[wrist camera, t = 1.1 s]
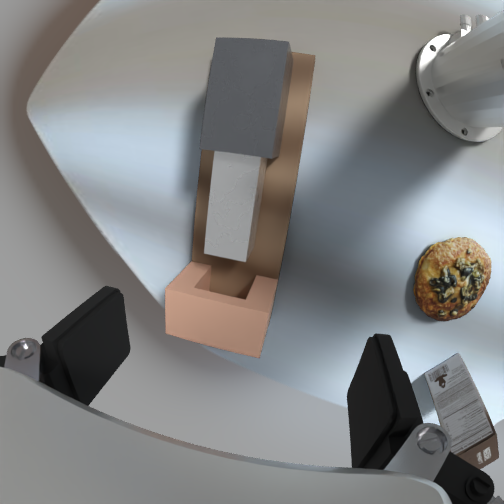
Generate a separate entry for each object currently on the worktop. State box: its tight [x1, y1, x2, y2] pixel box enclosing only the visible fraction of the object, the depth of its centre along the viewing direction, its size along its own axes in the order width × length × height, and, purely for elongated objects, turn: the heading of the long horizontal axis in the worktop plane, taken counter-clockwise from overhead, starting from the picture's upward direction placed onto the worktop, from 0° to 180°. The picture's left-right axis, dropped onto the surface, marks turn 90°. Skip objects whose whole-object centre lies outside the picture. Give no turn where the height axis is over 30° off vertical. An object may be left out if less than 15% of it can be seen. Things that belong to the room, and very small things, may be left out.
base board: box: [192, 52, 315, 322], centre depth 31 cm, size 30×10×2 cm, turn 172°
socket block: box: [165, 261, 278, 358], centre depth 31 cm, size 6×10×7 cm, turn 82°
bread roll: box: [413, 237, 491, 321], centre depth 29 cm, size 11×11×5 cm
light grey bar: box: [204, 151, 267, 262], centre depth 26 cm, size 18×4×4 cm, turn 172°
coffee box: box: [424, 353, 499, 469], centre depth 27 cm, size 9×6×16 cm
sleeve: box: [200, 38, 294, 159], centre depth 24 cm, size 10×6×6 cm, turn 172°
